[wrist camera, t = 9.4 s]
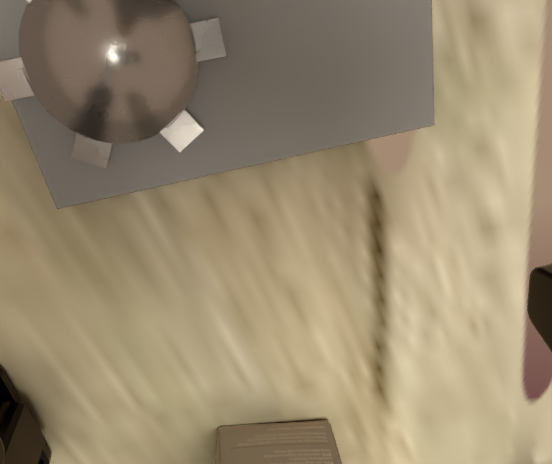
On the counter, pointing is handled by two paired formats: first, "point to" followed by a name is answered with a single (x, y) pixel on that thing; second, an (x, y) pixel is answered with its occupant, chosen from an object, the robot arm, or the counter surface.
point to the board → (260, 92)
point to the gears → (112, 70)
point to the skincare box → (277, 444)
